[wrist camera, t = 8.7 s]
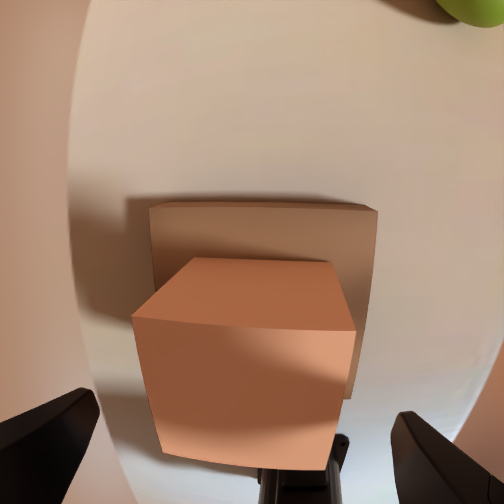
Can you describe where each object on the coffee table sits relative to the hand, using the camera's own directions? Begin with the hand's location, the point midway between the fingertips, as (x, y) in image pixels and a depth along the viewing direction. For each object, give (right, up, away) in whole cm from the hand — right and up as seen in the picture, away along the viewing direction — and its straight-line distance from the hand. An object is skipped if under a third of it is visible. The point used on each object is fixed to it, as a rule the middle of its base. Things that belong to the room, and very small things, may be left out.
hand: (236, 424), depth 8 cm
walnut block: (+1, +2, +10) cm, 10 cm away
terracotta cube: (+1, +1, +7) cm, 7 cm away
